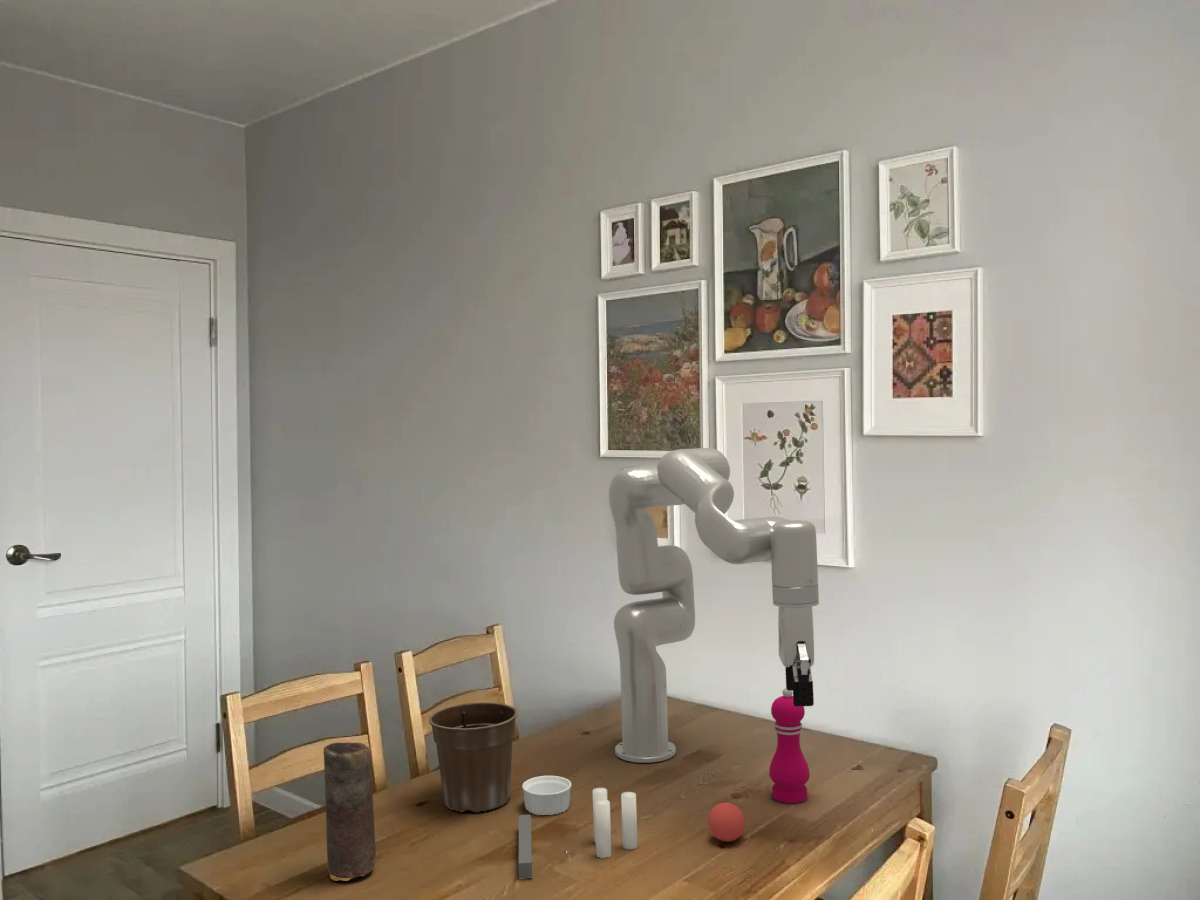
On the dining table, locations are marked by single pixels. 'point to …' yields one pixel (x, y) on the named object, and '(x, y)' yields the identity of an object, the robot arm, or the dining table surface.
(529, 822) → the gray square bar
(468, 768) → the plant pot
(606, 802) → the pin
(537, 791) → the ramekin
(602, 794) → the pin
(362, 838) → the candle
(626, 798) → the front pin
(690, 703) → the dining table surface
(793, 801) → the pepper mill
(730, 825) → the ball
